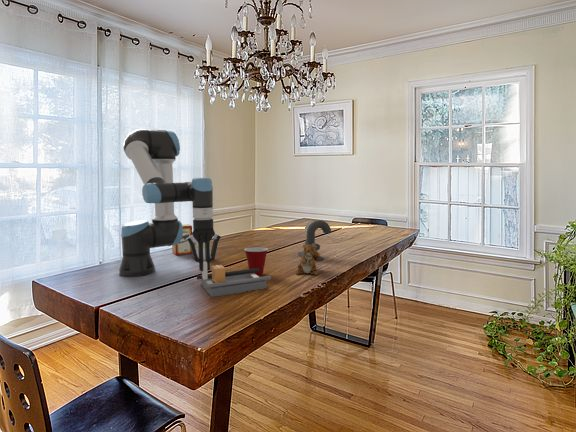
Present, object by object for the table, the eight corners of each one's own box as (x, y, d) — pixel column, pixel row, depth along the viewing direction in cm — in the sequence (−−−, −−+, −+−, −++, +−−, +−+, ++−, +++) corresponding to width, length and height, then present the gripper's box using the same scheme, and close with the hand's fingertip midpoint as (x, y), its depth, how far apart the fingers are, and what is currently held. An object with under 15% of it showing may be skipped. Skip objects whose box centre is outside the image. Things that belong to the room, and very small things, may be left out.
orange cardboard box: (176, 255, 207) (174, 226, 205) (172, 253, 212) (171, 225, 210) (192, 253, 212) (192, 225, 210) (189, 251, 217) (188, 223, 215)
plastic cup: (268, 270, 176) (268, 245, 175) (268, 277, 166) (268, 250, 164) (245, 271, 176) (244, 245, 175) (243, 277, 165) (242, 250, 164)
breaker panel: (211, 297, 141) (211, 288, 140) (201, 285, 155) (201, 277, 155) (266, 288, 150) (266, 280, 150) (252, 278, 165) (251, 271, 164)
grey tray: (205, 289, 140) (205, 285, 140) (196, 279, 153) (196, 275, 153) (271, 280, 152) (271, 276, 152) (258, 271, 165) (258, 267, 165)
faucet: (337, 260, 197) (338, 222, 194) (309, 262, 192) (309, 223, 189) (324, 252, 214) (324, 217, 211) (297, 254, 209) (297, 218, 207)
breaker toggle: (215, 283, 147) (214, 268, 146) (211, 279, 151) (211, 265, 150) (225, 281, 148) (225, 267, 148) (221, 278, 153) (221, 264, 152)
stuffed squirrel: (294, 275, 169) (294, 246, 168) (300, 267, 183) (300, 240, 181) (316, 276, 167) (317, 247, 165) (321, 268, 181) (321, 241, 179)
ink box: (192, 258, 201) (192, 236, 200) (199, 256, 205) (199, 234, 204) (204, 260, 197) (203, 237, 195) (211, 258, 201) (210, 236, 199)
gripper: (187, 220, 138) (189, 283, 141) (222, 218, 144) (224, 279, 147) (183, 218, 145) (186, 278, 148) (217, 216, 150) (218, 274, 153)
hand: (204, 278), depth 147 cm, fingers closed
